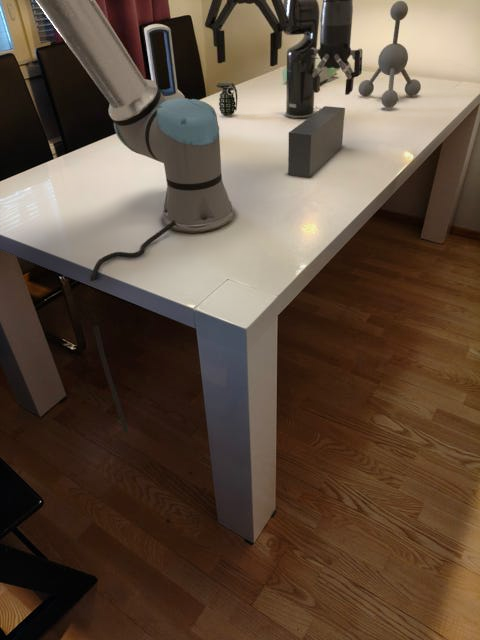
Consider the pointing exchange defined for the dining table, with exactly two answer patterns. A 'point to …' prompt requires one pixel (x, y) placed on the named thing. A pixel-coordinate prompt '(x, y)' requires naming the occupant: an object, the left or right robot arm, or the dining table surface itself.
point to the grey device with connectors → (324, 74)
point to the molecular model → (392, 63)
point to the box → (315, 141)
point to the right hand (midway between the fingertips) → (332, 93)
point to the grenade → (227, 99)
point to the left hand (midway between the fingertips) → (247, 64)
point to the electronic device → (172, 91)
